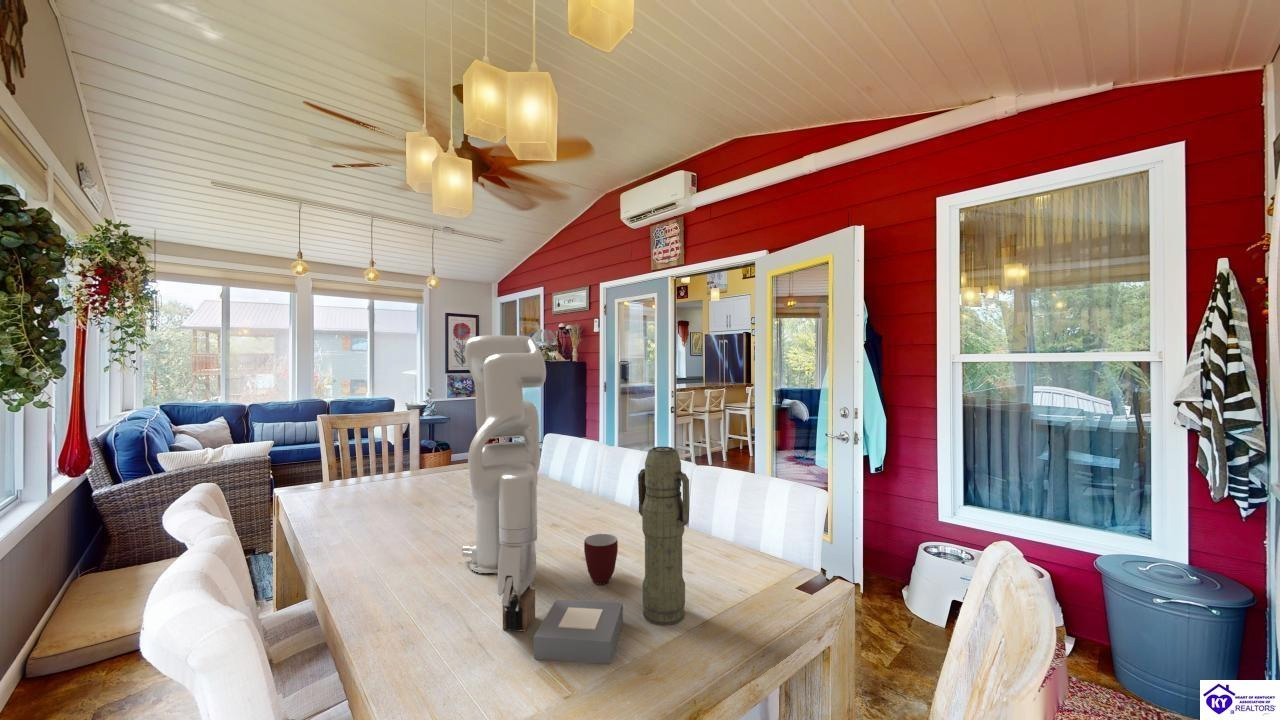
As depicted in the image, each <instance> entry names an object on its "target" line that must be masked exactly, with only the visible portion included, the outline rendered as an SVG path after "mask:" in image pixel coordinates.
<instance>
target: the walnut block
mask: <svg viewBox="0 0 1280 720" xmlns="http://www.w3.org/2000/svg"><path fill="white" fill-rule="evenodd" d="M512 593H517V591H515V590H513V591H512ZM516 598H517V597H511V599H512V601H515V602H516ZM520 609H522V629H521V630H522V631H521V632H528V630H529V629H528V628H531V626H532V624H533V623H534V621H535V619H536V589H534V588H532V589H526V590H525V591H524V593H523V594H522V595H521V604H520ZM533 620H534V621H533ZM530 625H531V626H530ZM503 629H506V611H505V606H504V605H502V630H503ZM524 630H525V631H524Z"/></svg>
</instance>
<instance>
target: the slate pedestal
mask: <svg viewBox="0 0 1280 720" xmlns="http://www.w3.org/2000/svg"><path fill="white" fill-rule="evenodd" d="M623 625H624V602H617V601H599V600H584V599H583V600H581V599H569V598H568V599H565V598H556V599H555V601H554V603H553V604H552V606H551V607H550V609H549V610H548V612H547V614H546V615H545V617H544V619H543V620H542V622H541V624H540V626H539V627H538V628H537V630H536V632H535V633H534V636H533V659H534V658H536V659H537V660H546V659H550V661H560V662H561V661H562V662H564V661H565V662H577V663H589V664H600V665H601V664H603V665H604V664H605V665H610V664H612V659H613V656H614V653H615V651H616V646H617V644H618V640H619V637H620V634H621V630H622V627H623ZM539 658H541V659H539ZM536 659H535V660H536ZM551 659H552V660H551Z"/></svg>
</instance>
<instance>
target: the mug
mask: <svg viewBox="0 0 1280 720" xmlns="http://www.w3.org/2000/svg"><path fill="white" fill-rule="evenodd" d="M583 541H584V542H583V545H584V546H583V550H584V556H585V563H586V569H587V573H588V575H589V577H590V579H591V581H592V582H593V583H594V584H597V585H605V584H607V583H609V582H610V581H611V579H612V577H613V575H614V572H615V569H616V562H617V558H618V551H619V549H618V547H619V546H618V544H619V543H618V538H617V537H616V536H615V535H613V534H607V533H596V534H592V535H589V536H586V538H584V540H583Z"/></svg>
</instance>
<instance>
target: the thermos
mask: <svg viewBox="0 0 1280 720" xmlns="http://www.w3.org/2000/svg"><path fill="white" fill-rule="evenodd" d="M637 486H638V487H637V488H638V514H640V516H641V519H642V520H641V521H642V522H641V523H642V526H641V527H642V533H643V535H644V579H643V581H642V605H643V613H642V614H643V617H644V619H645V620H646V622H649V623H651V624H653V625H656V626H672V625H676V624H679V623H680V622H682V621H683V620H684V619H685V604H686V582H685V580H684V576H683V536H684V533H685V526H687V525H688V524H689V521H690V479H689V477H688V476H687V474H686V473H684V472H683V471H682V461H681V458H680V454H679V453H678V450H677V449H675V448H674V447H671V446H655V447H654V446H653V447H652V448H650V449H648V451H647V455H646V457H645V460H644V468H642V469H641V470H640V471H639V473H638V475H637ZM681 487H682V491H681Z"/></svg>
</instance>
